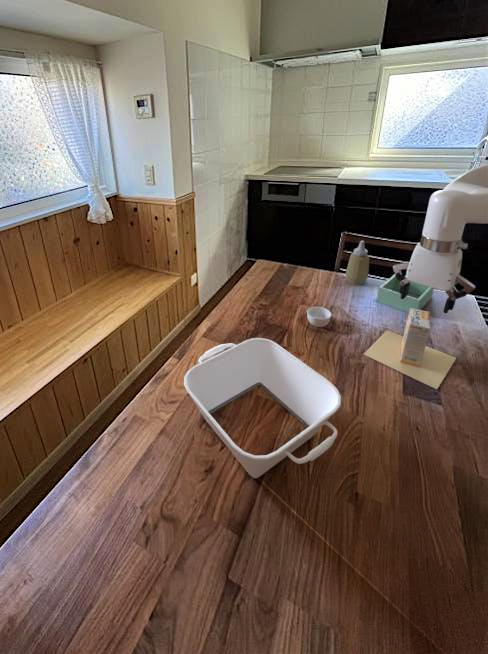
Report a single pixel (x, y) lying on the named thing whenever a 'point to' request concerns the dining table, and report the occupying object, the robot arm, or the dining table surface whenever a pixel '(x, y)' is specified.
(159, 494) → the dining table surface
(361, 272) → the squeeze bottle
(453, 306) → the robot arm
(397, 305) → the box
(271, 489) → the dining table surface
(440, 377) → the mat
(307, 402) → the tub
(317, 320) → the teacup
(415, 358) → the supplement box
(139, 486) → the dining table surface
